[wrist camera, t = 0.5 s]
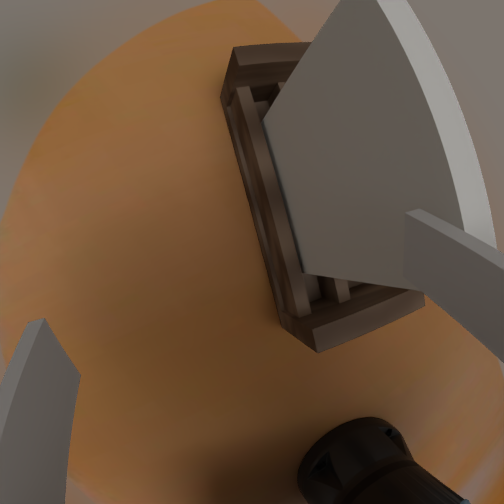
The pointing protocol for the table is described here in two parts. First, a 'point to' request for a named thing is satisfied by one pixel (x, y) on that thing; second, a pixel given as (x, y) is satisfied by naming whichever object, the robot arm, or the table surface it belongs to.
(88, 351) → the table surface
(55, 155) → the table surface
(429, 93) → the sheet
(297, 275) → the rack
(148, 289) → the table surface
